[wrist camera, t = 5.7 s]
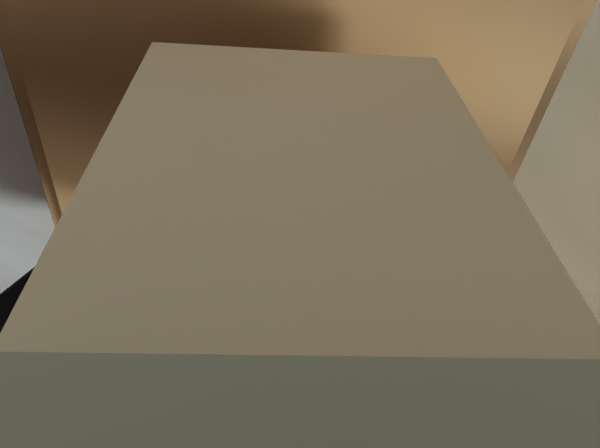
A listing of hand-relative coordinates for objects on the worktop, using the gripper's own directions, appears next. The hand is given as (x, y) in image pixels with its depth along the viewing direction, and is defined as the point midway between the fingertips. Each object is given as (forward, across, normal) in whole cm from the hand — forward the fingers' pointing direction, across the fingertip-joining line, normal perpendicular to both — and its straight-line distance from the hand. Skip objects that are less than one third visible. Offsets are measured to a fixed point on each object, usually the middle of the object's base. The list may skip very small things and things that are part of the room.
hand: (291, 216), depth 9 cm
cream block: (+2, 0, 0) cm, 2 cm away
